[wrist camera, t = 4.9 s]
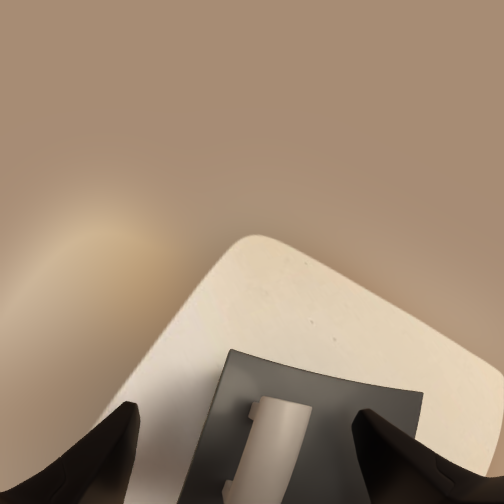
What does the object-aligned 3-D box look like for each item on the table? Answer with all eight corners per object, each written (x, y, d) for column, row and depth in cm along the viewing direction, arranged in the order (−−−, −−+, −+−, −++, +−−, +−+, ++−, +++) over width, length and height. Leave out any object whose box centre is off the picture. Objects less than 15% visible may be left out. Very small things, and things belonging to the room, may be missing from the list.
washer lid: (174, 508, 7) (158, 565, 3) (229, 350, 11) (243, 320, 7) (376, 526, 7) (437, 553, 3) (415, 393, 11) (488, 377, 7)
